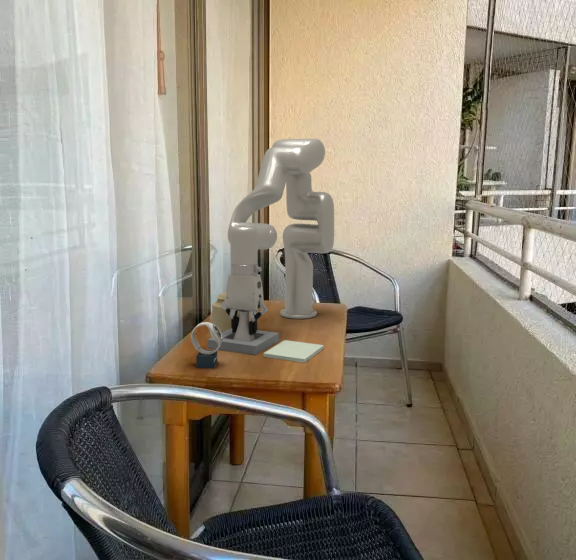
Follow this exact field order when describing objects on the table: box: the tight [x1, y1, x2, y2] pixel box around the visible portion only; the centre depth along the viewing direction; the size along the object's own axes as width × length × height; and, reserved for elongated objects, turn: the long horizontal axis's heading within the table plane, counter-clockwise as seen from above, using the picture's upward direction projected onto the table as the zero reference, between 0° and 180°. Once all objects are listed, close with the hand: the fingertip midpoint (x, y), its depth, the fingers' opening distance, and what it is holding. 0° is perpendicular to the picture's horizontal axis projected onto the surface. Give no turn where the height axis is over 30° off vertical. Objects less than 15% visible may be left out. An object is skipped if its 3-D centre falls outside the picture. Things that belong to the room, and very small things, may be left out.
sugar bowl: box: [211, 291, 240, 333], centre depth 185 cm, size 15×11×15 cm
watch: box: [190, 321, 223, 369], centre depth 150 cm, size 6×8×11 cm
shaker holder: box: [207, 328, 280, 356], centre depth 169 cm, size 15×15×2 cm
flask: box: [233, 310, 255, 342], centre depth 168 cm, size 7×7×10 cm
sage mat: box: [262, 339, 325, 364], centre depth 162 cm, size 14×12×1 cm
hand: (244, 332), depth 169 cm, fingers closed on flask, 4 cm apart
